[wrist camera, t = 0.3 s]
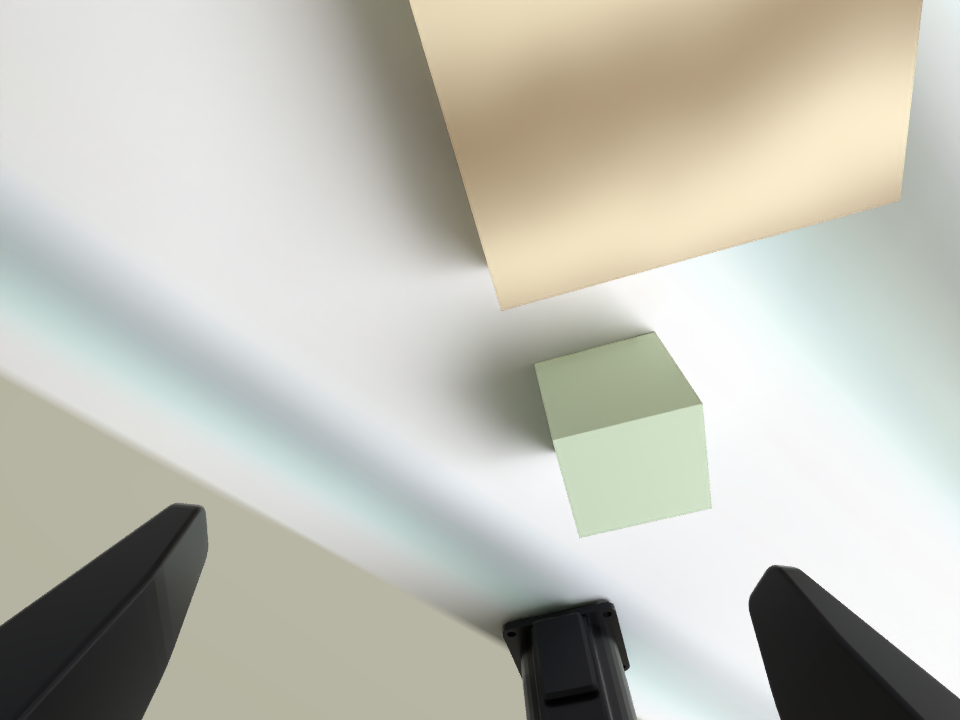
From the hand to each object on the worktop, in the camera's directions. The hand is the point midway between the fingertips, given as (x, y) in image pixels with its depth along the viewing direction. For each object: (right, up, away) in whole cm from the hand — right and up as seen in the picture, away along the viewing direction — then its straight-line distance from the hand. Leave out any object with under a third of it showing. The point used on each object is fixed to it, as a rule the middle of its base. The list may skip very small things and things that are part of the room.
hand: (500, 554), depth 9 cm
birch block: (+5, +12, +9) cm, 16 cm away
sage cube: (+5, +2, +15) cm, 16 cm away
